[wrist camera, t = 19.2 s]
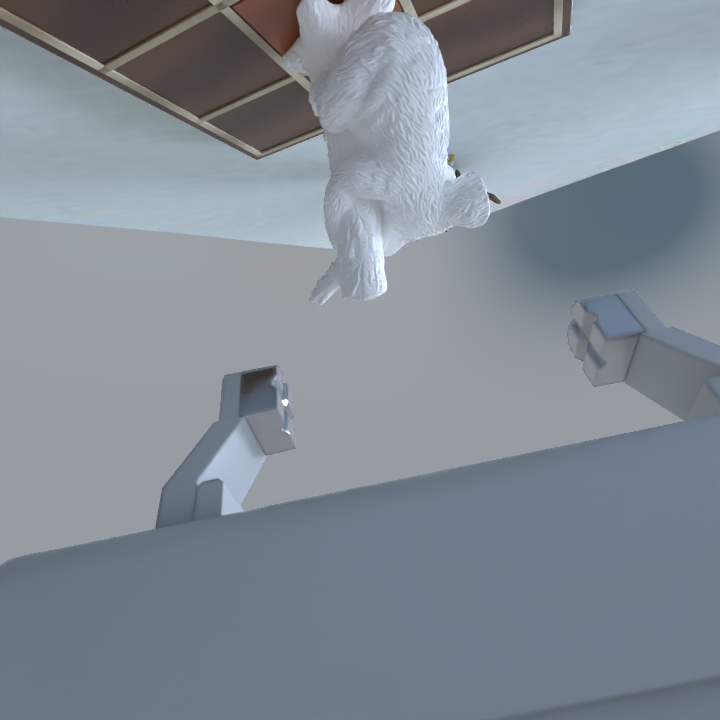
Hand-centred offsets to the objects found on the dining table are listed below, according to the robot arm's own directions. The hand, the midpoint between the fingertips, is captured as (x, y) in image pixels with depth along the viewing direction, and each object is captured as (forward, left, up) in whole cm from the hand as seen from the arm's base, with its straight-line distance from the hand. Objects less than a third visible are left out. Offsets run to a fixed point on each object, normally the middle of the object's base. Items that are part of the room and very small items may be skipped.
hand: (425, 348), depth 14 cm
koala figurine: (-7, +2, -15) cm, 17 cm away
